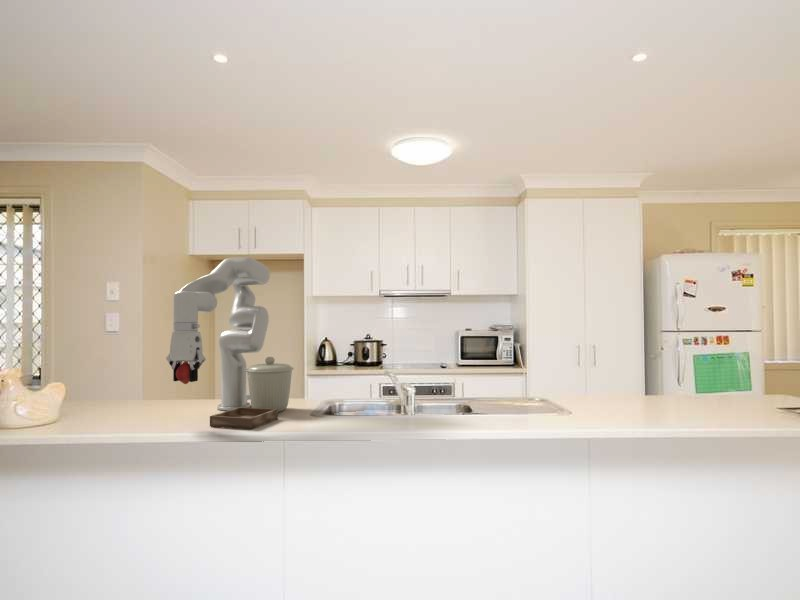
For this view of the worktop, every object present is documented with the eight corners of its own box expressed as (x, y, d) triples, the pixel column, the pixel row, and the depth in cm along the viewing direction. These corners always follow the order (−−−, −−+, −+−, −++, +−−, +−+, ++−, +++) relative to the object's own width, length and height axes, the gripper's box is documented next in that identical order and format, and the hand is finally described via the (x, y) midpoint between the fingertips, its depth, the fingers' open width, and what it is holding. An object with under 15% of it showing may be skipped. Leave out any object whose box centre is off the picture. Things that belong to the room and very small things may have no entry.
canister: (242, 409, 183) (243, 356, 184) (288, 405, 191) (288, 354, 191) (248, 417, 167) (248, 359, 167) (298, 413, 174) (298, 357, 175)
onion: (177, 386, 151) (177, 361, 151) (174, 384, 155) (174, 360, 156) (196, 384, 154) (196, 360, 154) (192, 382, 159) (192, 359, 159)
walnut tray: (239, 416, 169) (239, 407, 169) (277, 419, 164) (277, 409, 164) (209, 426, 153) (209, 416, 153) (250, 429, 149) (251, 418, 149)
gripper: (214, 327, 156) (214, 380, 156) (173, 327, 162) (173, 378, 161) (198, 328, 149) (198, 383, 149) (156, 328, 154) (156, 381, 154)
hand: (185, 380), depth 155 cm, fingers closed on onion, 5 cm apart
